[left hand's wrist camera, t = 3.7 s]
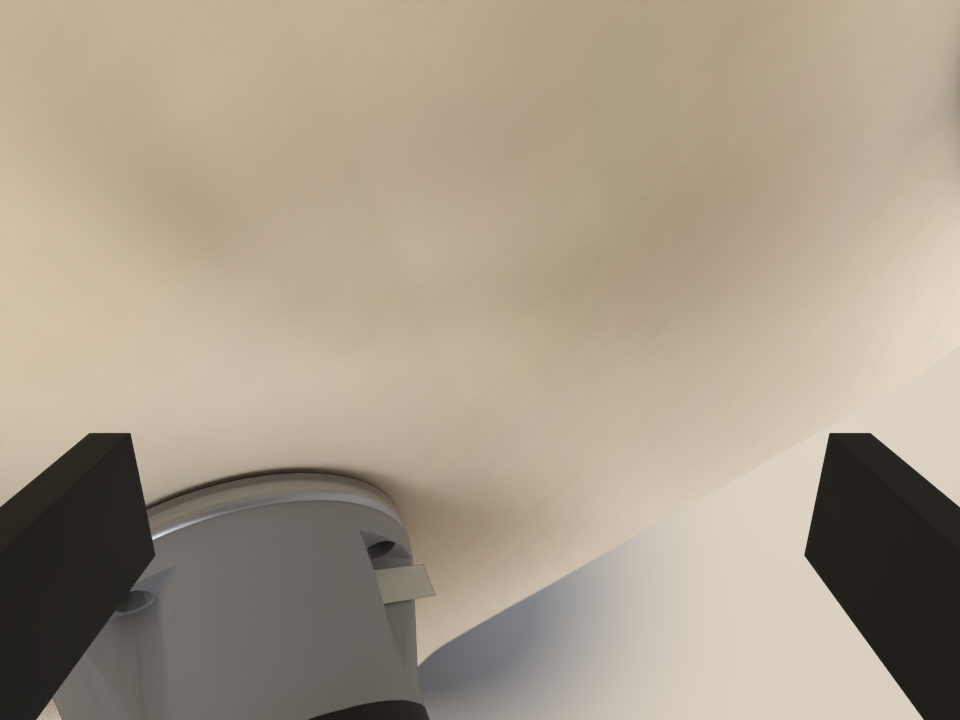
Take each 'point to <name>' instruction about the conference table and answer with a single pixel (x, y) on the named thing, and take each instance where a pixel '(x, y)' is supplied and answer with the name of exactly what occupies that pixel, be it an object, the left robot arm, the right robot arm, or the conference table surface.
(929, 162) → the conference table surface
